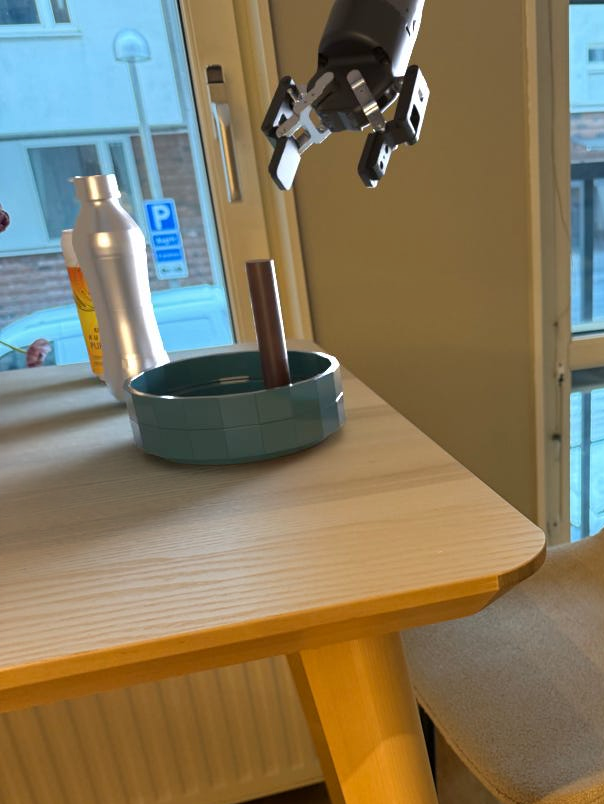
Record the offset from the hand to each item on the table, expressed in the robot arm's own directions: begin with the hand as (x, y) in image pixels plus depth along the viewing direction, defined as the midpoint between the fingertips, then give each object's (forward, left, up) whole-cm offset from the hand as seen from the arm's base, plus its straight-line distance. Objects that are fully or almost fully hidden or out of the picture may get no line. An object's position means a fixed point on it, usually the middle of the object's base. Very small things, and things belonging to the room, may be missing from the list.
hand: (321, 182), depth 78 cm
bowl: (-7, -10, -19) cm, 22 cm away
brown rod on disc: (-4, -10, -18) cm, 21 cm away
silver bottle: (-21, +4, -19) cm, 29 cm away
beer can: (-28, +16, -19) cm, 37 cm away
